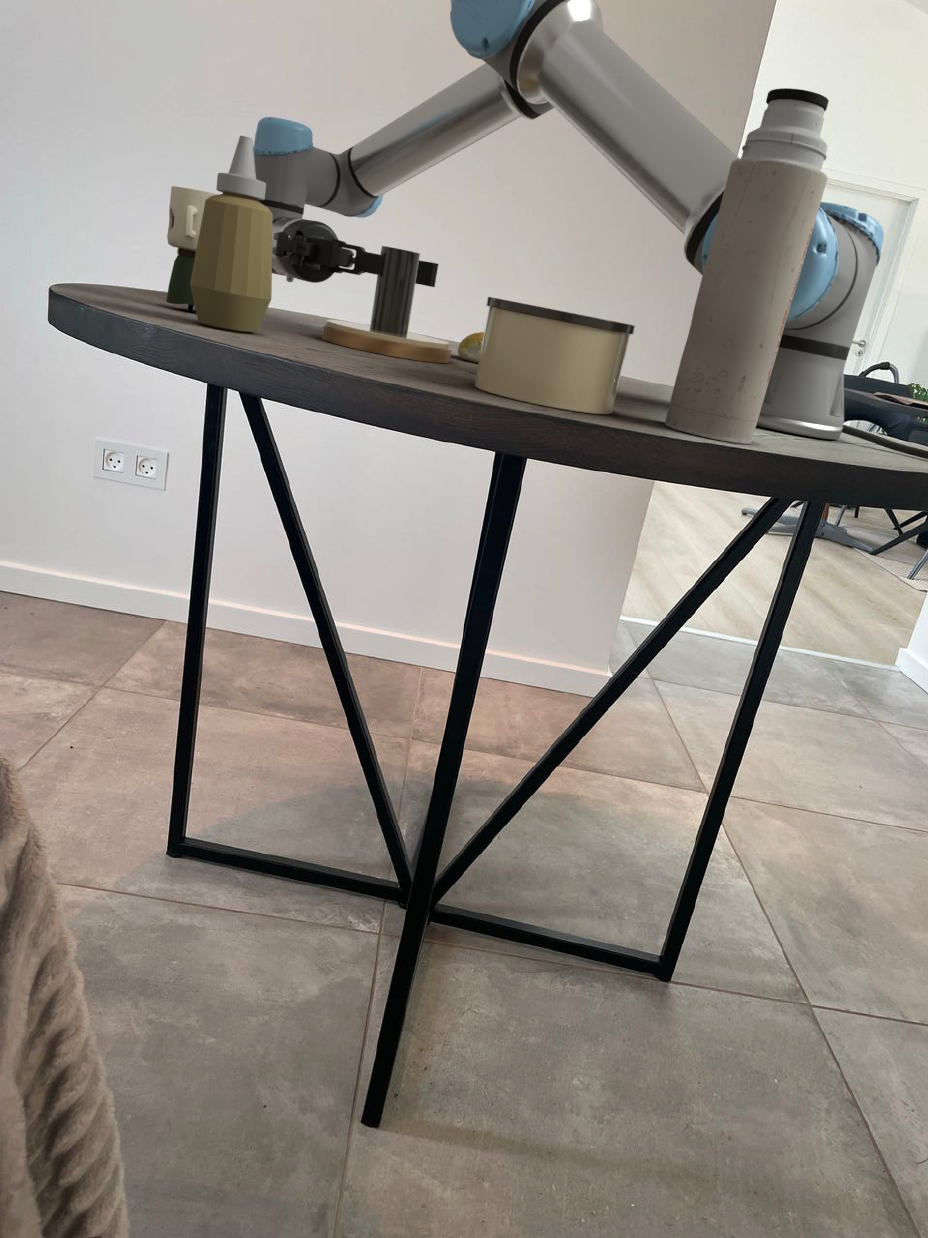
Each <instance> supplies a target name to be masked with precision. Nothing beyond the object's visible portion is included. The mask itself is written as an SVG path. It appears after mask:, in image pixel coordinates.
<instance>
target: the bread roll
mask: <svg viewBox="0 0 928 1238" xmlns="http://www.w3.org/2000/svg"><path fill="white" fill-rule="evenodd" d="M483 337H484V331H479V332H473V333H470V334H469V335H466V337H464V338H463V339H462V340H461V341H460V342H459V344H458V348H457V354H458V356H459V357H460V358H461V359H462V360H464V361H468V362H471V363H475V364H479V358H480V353H481V347H482V342H483Z"/></svg>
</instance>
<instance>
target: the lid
mask: <svg viewBox="0 0 928 1238" xmlns="http://www.w3.org/2000/svg"><path fill="white" fill-rule="evenodd" d="M379 255H380V262H379V269H378V275H376V283H375V289H374V297H373V304H372V309H371V310H372V311H371V317H370V323H369V324H366V323H362V322H361V323H360V322H354V321H347V320H341V319H340V320H339V319H327V320H326V323H325V325H326V326H328V327H330V328H333V329H337V330H340V331H344V332H348V333H352V334H357V335H361V336H366V337H371V338H376V339H381V340H386V341H391V342H397V343H402V344H408V345H415V346H421V347H428V348H436V349H448V348H450V342H449V341H446V340H442V339H439V338H435V337H431V336H426V335H422V334H419V333H413V332H409V327H410V322H411V321H410V320H411V314H412V307H413V303H414V296H415V290H416V285H417V284H416V277H417V271H418V265H419V260H421V259H420V257H421V253H419V252H416V251H411V250H407V249H402V248H397V247H391V246H385V245H381V249H380V254H379Z"/></svg>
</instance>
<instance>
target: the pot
mask: <svg viewBox="0 0 928 1238" xmlns="http://www.w3.org/2000/svg"><path fill="white" fill-rule="evenodd" d="M485 306H486V307H488V309H487V315H486V322H485V326H484V331H483V332H484V337H483V342H482V347H481V353H480V358H479V363H477V368H476V369H477V370H476V376H475V381H474V387H475V388H476V389H479V390H481V391H483V392H487V393H490V394H492V395H496V396H499V397H503V398H507V399H510V400H511V399H512V400H515V401H520V402H523V403H527V404H532V405H537V406H541V407H548V408H553V409H558V410H564V411H570V412H576V413H584V414H591V415H592V414H593V415H611V414H612V413H613V411H614V406H615V401H616V397H617V393H618V388H619V385H620V381H621V377H622V371H623V368H624V364H625V359H626V355H627V351H628V347H629V342H630V338H631V336H632V335H635V331H636V327H637V326H636V325H635V324H628V323H624V322H621V321H615V320H609V319H604V318H600V317H599V318H598V317H594V316H589V315H584V314H580V313H573V312H568V311H563V310H558V309H554V308H548V307H544V306H540V305H539V306H538V305H533V304H529V303H524V302H519V301H512V300H509V299H503V298H497V297H493V296H487V298H486V302H485Z"/></svg>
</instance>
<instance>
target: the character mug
mask: <svg viewBox="0 0 928 1238" xmlns="http://www.w3.org/2000/svg"><path fill="white" fill-rule="evenodd" d="M214 195H219V194H217V193H214V192H209V191H205V190H200V189H194V188H188V187H184V186H177V185H176V186H175V185H172V186H171V188H170V198H169V205H168V207H169V208H168V209H169V210H168V211H169V213H168V214H169V215H168V216H169V218H168V229H167V235H166V240H167V244H168V245H169V246H171V247H172V248H177V249H176V257H175V259H174V262H173V265H172V269H171V275H170V278H169V282H168V288H167V294H166V299H165V302H167V303H168V304H172V305H187V312H190V313H192V312H194V310H195V311H196V309H195V304H194V300H193V295H192V291H191V286H190V282H191V276H192V271H193V265H194V260H195V255H196V249H197V244H198V238H199V233H200V227H201V222H202V217H203V211H204V206H205V200H206V199H208V198H209V197H211V196H214Z"/></svg>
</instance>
